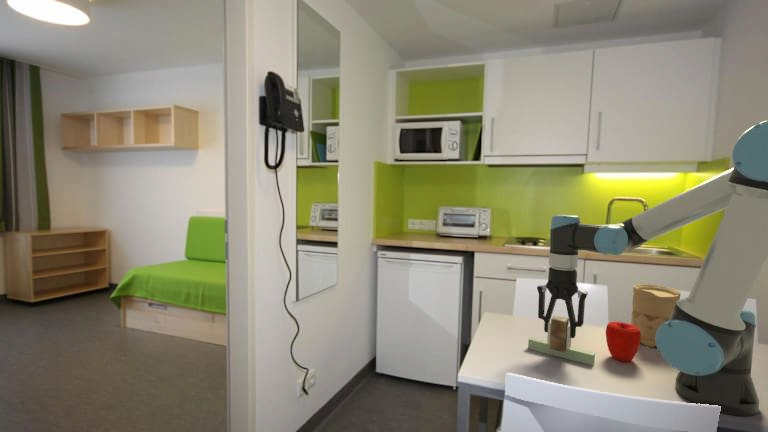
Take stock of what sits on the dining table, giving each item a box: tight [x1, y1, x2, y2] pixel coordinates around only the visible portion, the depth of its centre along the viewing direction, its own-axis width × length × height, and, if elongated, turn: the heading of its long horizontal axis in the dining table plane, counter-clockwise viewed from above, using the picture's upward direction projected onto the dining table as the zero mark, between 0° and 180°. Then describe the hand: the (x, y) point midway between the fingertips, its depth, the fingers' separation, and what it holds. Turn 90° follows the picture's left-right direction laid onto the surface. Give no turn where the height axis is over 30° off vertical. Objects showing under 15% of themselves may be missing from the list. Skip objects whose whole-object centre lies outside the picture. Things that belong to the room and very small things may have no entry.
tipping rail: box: [527, 336, 596, 366], centre depth 112 cm, size 18×2×3 cm, turn 53°
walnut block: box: [550, 315, 570, 353], centre depth 110 cm, size 4×4×9 cm
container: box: [630, 283, 681, 348], centre depth 124 cm, size 13×13×18 cm
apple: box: [605, 321, 642, 363], centre depth 111 cm, size 9×9×11 cm
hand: (558, 345), depth 111 cm, fingers open, 4 cm apart
